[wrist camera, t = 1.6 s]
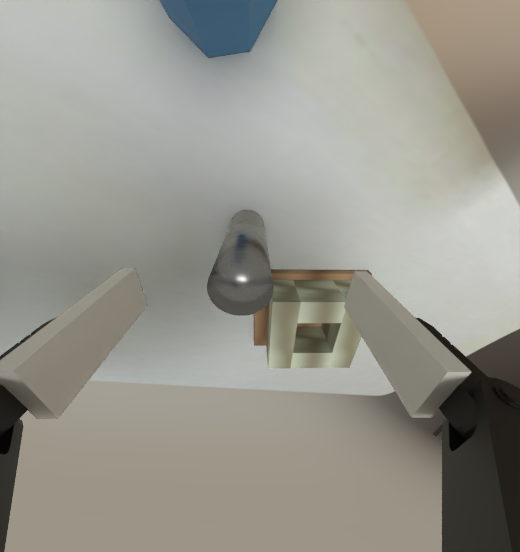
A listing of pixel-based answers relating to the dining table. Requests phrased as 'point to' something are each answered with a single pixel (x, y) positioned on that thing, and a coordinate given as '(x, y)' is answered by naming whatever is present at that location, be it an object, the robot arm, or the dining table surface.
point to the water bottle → (220, 23)
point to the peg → (242, 268)
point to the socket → (308, 320)
